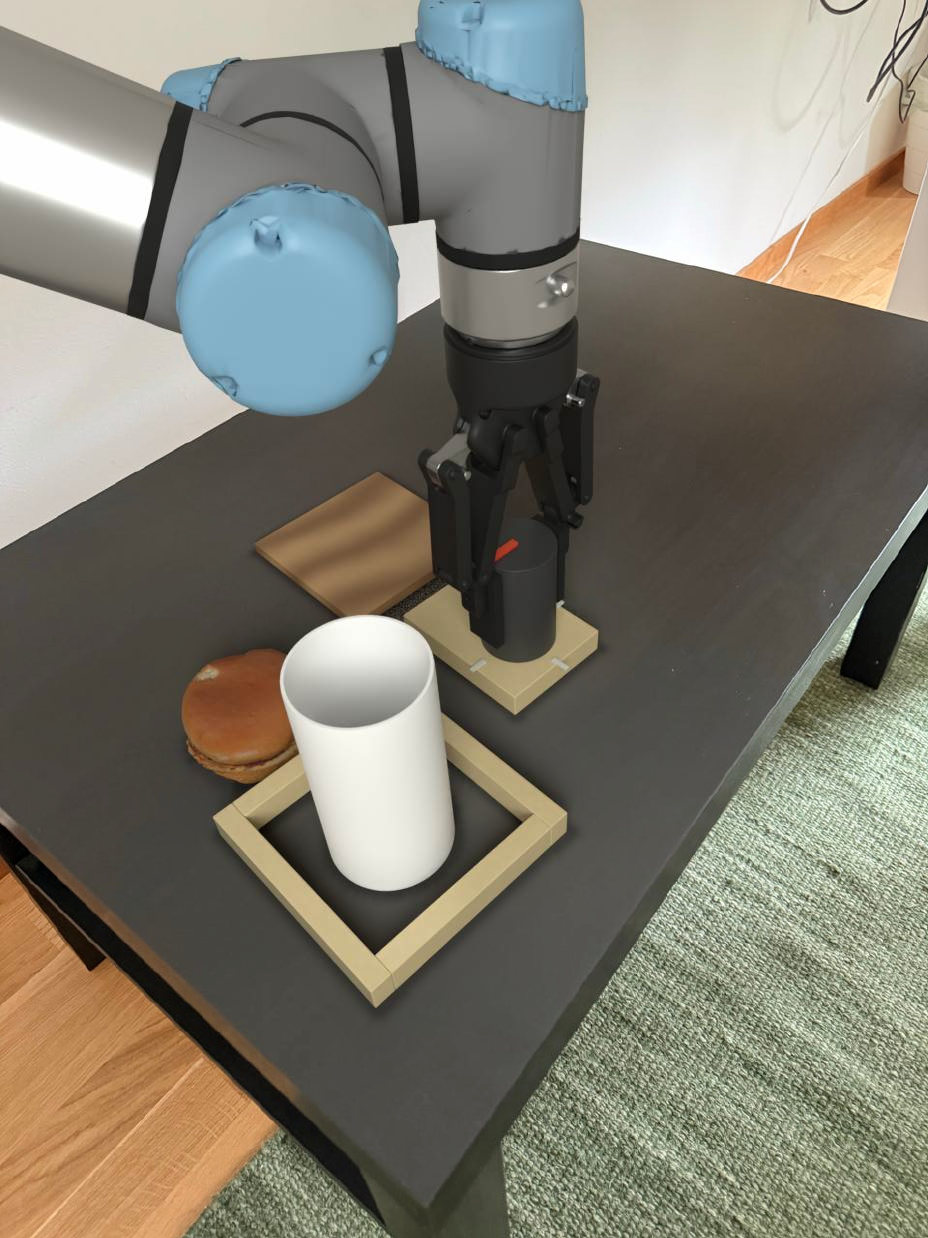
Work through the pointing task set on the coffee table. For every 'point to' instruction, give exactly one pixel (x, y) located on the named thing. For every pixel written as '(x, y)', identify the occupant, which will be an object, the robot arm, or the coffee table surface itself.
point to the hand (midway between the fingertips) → (517, 613)
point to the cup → (372, 748)
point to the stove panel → (497, 678)
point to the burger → (239, 716)
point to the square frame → (439, 919)
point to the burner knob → (526, 589)
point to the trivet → (357, 548)
